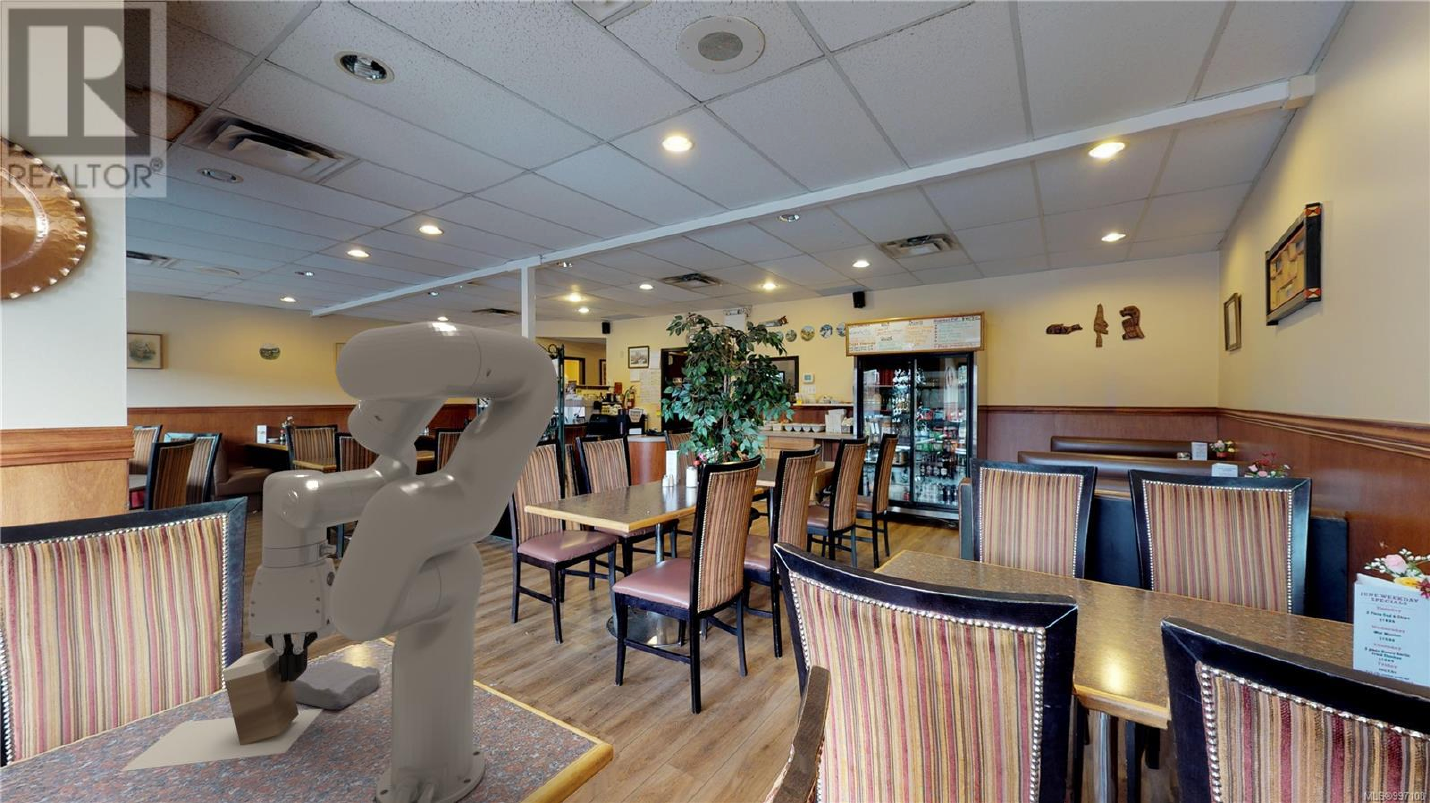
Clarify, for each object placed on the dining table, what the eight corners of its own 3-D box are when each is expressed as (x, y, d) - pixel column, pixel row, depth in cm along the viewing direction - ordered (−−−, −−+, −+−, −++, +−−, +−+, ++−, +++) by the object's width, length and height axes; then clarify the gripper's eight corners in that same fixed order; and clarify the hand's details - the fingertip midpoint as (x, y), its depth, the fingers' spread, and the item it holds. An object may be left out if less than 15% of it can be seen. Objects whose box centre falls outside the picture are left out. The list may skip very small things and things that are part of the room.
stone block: (335, 685, 96) (277, 700, 87) (342, 656, 97) (286, 668, 88) (387, 698, 93) (332, 716, 83) (393, 668, 94) (340, 682, 84)
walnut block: (279, 733, 77) (262, 660, 77) (240, 745, 76) (222, 671, 76) (298, 713, 82) (282, 644, 82) (261, 724, 81) (245, 654, 81)
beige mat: (284, 755, 75) (284, 752, 75) (119, 774, 71) (119, 771, 71) (324, 710, 86) (324, 708, 86) (182, 724, 81) (182, 722, 81)
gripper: (362, 545, 85) (360, 661, 85) (252, 549, 82) (250, 669, 82) (339, 559, 78) (337, 686, 78) (218, 564, 75) (216, 695, 75)
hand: (293, 676), depth 80 cm, fingers closed
